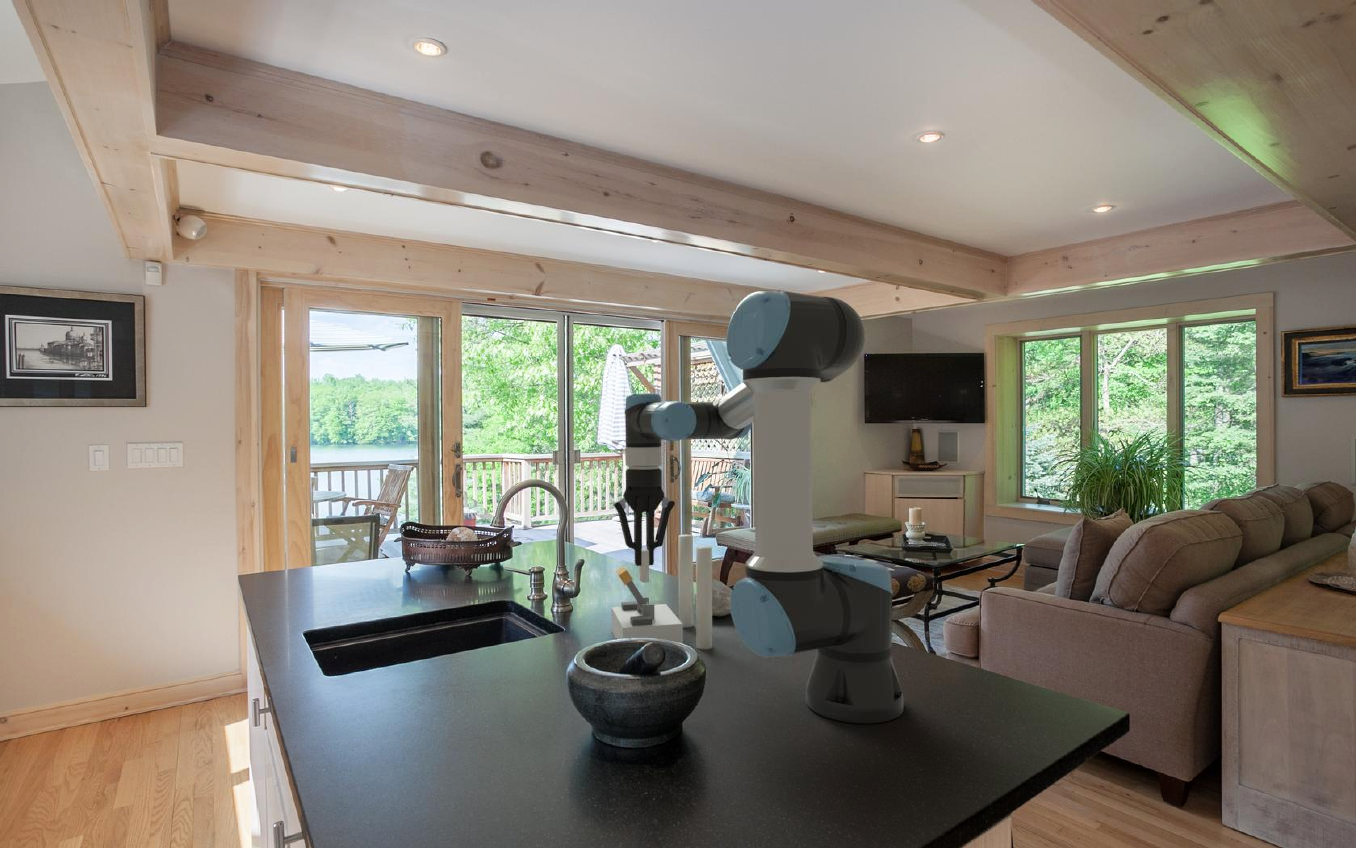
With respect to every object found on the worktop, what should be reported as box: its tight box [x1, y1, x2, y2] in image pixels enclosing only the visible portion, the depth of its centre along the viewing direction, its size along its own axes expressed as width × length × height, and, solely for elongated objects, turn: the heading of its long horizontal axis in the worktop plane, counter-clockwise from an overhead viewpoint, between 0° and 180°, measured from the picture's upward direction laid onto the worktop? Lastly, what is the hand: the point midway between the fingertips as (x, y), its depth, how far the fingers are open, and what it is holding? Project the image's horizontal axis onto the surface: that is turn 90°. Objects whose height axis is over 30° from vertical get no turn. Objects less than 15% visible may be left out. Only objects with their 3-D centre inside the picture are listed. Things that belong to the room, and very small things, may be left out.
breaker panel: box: [611, 596, 684, 643], centre depth 150 cm, size 16×12×8 cm
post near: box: [695, 545, 713, 650], centre depth 145 cm, size 3×3×20 cm
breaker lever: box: [615, 565, 648, 611], centre depth 150 cm, size 4×2×10 cm
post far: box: [677, 534, 694, 629], centre depth 160 cm, size 3×3×20 cm
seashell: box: [693, 578, 733, 617], centre depth 170 cm, size 9×12×15 cm
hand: (644, 581), depth 150 cm, fingers closed
